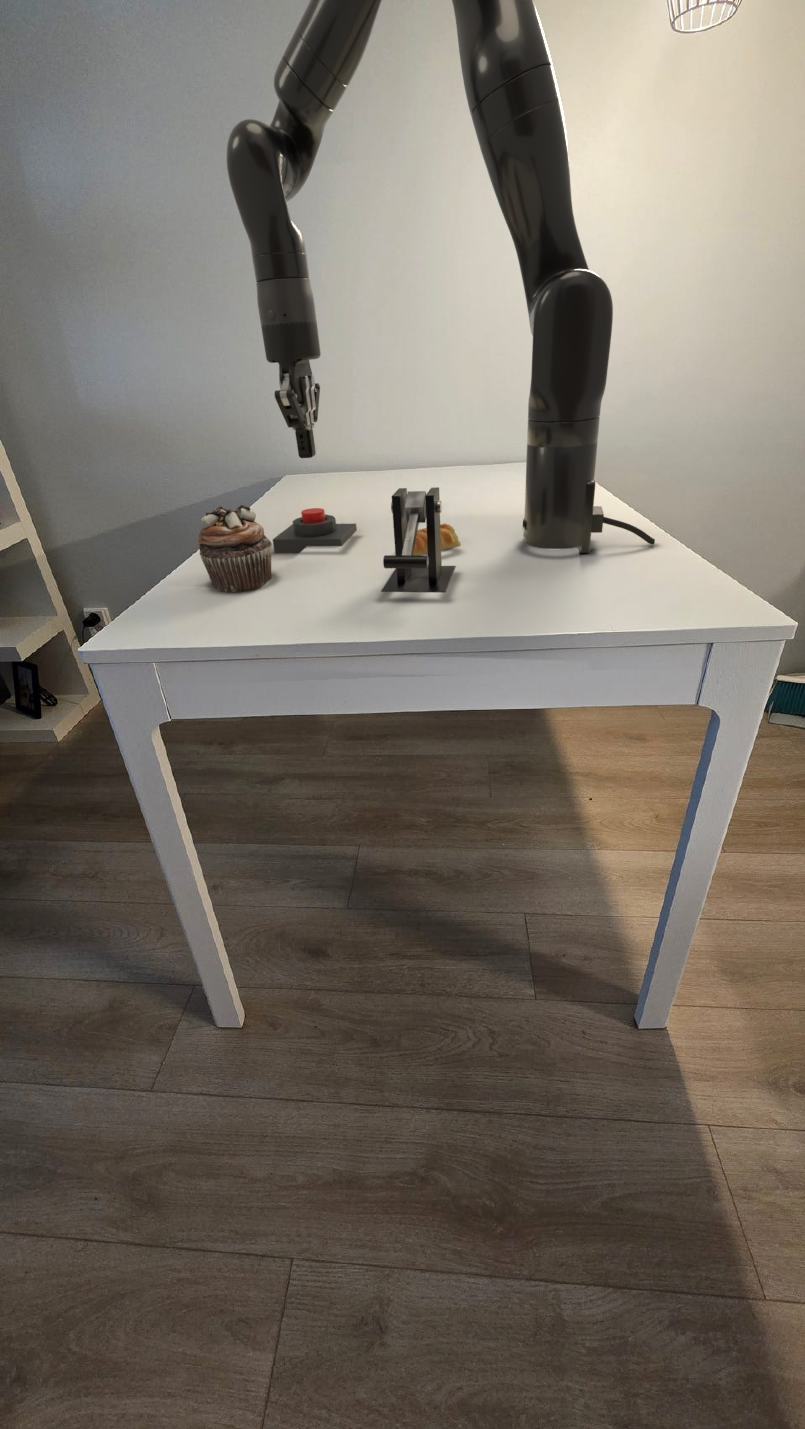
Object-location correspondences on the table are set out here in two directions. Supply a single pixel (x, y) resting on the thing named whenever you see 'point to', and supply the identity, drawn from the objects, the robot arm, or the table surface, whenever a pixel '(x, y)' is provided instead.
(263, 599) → the table surface
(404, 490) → the bracket
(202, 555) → the cupcake
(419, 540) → the pastry
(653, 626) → the table surface
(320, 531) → the control block
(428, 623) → the table surface
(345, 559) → the table surface
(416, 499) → the lever
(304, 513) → the button
